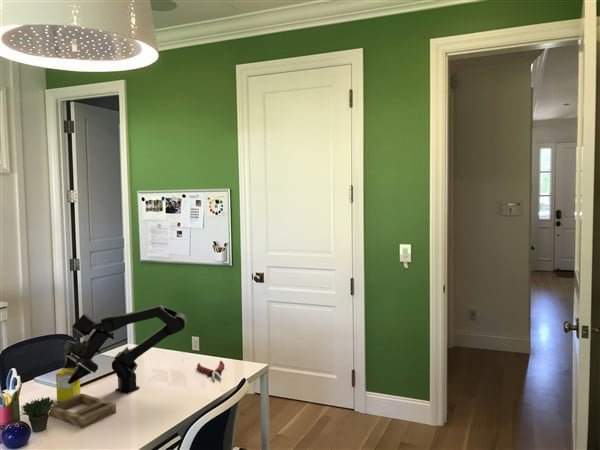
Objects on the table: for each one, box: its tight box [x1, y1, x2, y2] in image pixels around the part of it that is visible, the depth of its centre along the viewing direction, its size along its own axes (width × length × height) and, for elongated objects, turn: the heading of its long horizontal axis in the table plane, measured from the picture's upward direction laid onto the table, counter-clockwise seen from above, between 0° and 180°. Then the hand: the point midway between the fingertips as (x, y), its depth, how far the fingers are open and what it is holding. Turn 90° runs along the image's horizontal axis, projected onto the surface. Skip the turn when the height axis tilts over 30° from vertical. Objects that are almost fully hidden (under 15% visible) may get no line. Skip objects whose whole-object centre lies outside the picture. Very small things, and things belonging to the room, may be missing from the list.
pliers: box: [196, 360, 225, 382], centre depth 201 cm, size 11×20×3 cm, turn 20°
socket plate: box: [48, 393, 117, 429], centre depth 163 cm, size 18×13×3 cm
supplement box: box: [55, 367, 81, 403], centre depth 174 cm, size 6×6×11 cm
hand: (64, 380), depth 173 cm, fingers closed on supplement box, 8 cm apart
